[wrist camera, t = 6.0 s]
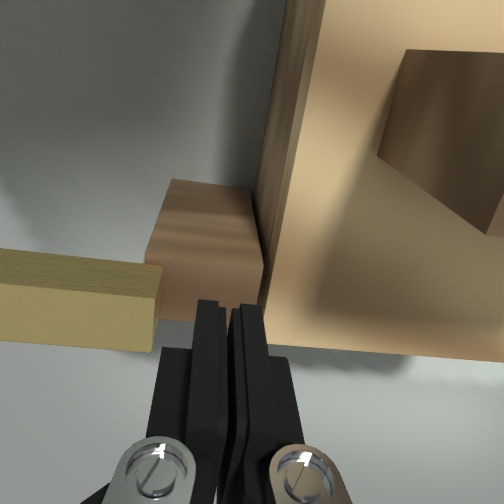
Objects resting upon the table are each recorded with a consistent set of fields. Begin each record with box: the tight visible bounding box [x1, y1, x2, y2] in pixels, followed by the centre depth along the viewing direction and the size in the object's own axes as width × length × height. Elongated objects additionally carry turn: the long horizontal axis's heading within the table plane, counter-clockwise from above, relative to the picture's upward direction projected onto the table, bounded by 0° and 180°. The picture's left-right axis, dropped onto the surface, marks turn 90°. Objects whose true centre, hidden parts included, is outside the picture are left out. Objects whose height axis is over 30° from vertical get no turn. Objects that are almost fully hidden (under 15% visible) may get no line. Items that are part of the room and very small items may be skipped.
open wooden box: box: [145, 0, 316, 326], centre depth 16 cm, size 18×17×8 cm
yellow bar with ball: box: [0, 248, 163, 353], centre depth 13 cm, size 2×7×3 cm, turn 81°
